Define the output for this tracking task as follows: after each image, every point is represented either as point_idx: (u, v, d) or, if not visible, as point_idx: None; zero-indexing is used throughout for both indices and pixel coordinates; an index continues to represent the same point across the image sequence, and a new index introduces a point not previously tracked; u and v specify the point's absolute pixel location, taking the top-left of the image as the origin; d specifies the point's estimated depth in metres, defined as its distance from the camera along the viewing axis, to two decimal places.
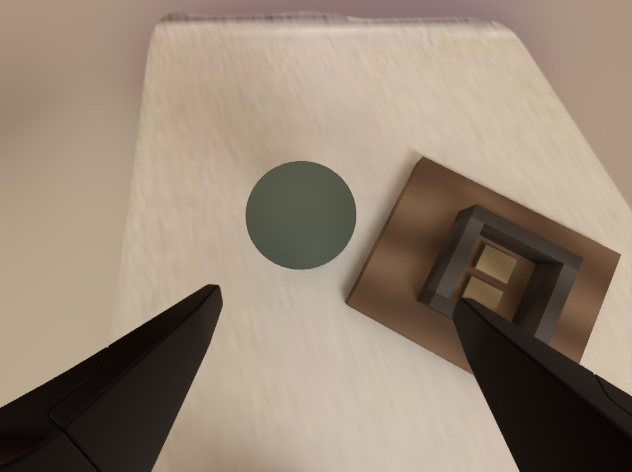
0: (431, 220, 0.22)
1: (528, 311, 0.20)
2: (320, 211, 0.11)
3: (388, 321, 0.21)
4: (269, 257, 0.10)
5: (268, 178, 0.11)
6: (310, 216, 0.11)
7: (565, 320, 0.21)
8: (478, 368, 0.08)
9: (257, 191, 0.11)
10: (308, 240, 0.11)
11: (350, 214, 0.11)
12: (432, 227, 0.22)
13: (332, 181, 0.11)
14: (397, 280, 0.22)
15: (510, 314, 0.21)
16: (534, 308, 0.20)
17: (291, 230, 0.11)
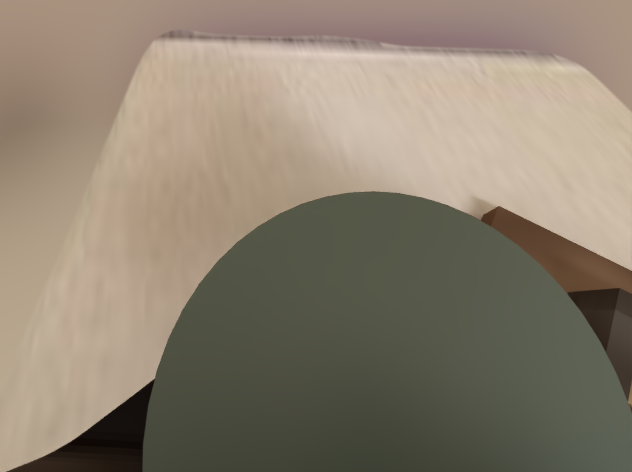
0: None
1: None
2: (475, 398, 0.02)
3: None
4: None
5: (262, 247, 0.03)
6: (434, 422, 0.02)
7: None
8: None
9: (215, 291, 0.03)
10: None
11: (610, 425, 0.02)
12: None
13: (503, 269, 0.03)
14: None
15: None
16: None
17: None
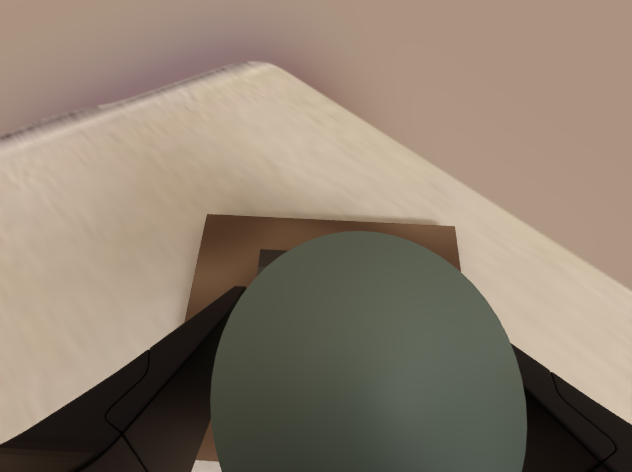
0: (237, 283, 0.18)
1: None
2: (423, 373, 0.04)
3: None
4: None
5: (282, 271, 0.04)
6: (395, 386, 0.04)
7: None
8: None
9: (251, 302, 0.04)
10: None
11: (508, 388, 0.04)
12: None
13: (446, 287, 0.04)
14: None
15: None
16: None
17: (339, 434, 0.04)
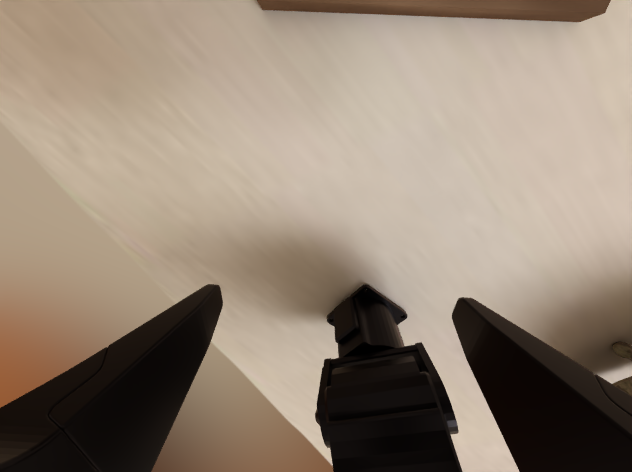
0: None
1: None
2: None
3: None
4: None
5: None
6: None
7: None
8: (478, 368, 0.08)
9: None
10: None
11: None
12: None
13: None
14: None
15: None
16: None
17: None
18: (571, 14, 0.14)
